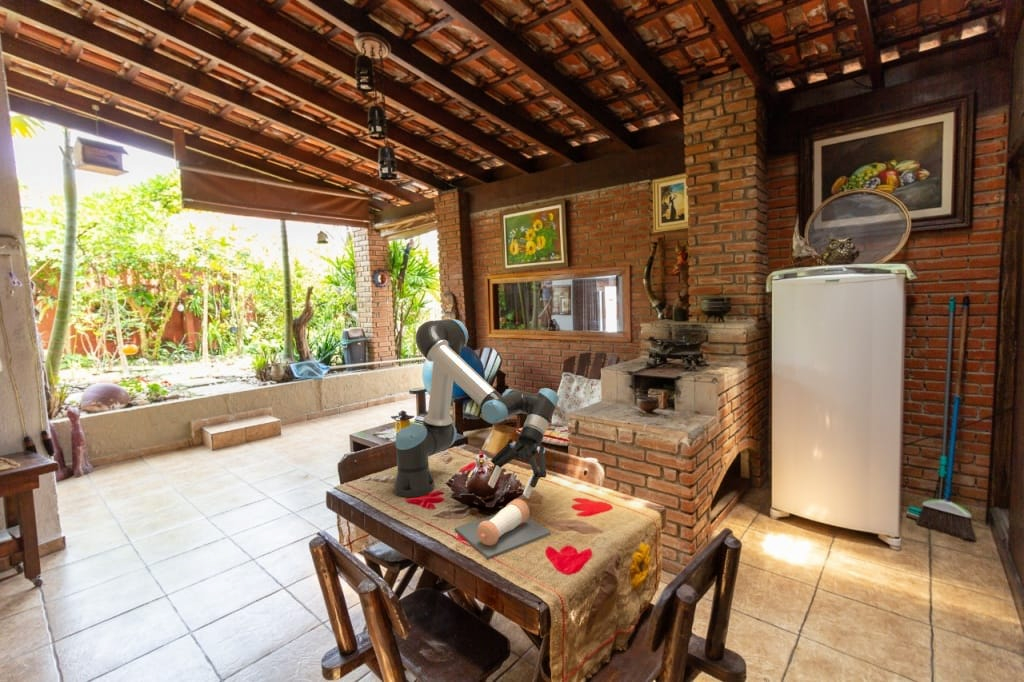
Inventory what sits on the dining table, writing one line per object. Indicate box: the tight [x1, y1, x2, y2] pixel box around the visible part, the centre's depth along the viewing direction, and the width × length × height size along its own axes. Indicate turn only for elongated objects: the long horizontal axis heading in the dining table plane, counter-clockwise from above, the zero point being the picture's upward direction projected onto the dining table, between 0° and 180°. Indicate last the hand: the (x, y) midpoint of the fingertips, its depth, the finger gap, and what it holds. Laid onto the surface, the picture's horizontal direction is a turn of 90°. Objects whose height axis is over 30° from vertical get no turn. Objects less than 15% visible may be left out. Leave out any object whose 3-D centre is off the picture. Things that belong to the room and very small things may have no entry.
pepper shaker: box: [477, 498, 531, 546], centre depth 137 cm, size 7×7×19 cm
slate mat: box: [454, 513, 552, 560], centre depth 140 cm, size 20×22×1 cm
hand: (507, 491), depth 142 cm, fingers open, 13 cm apart
